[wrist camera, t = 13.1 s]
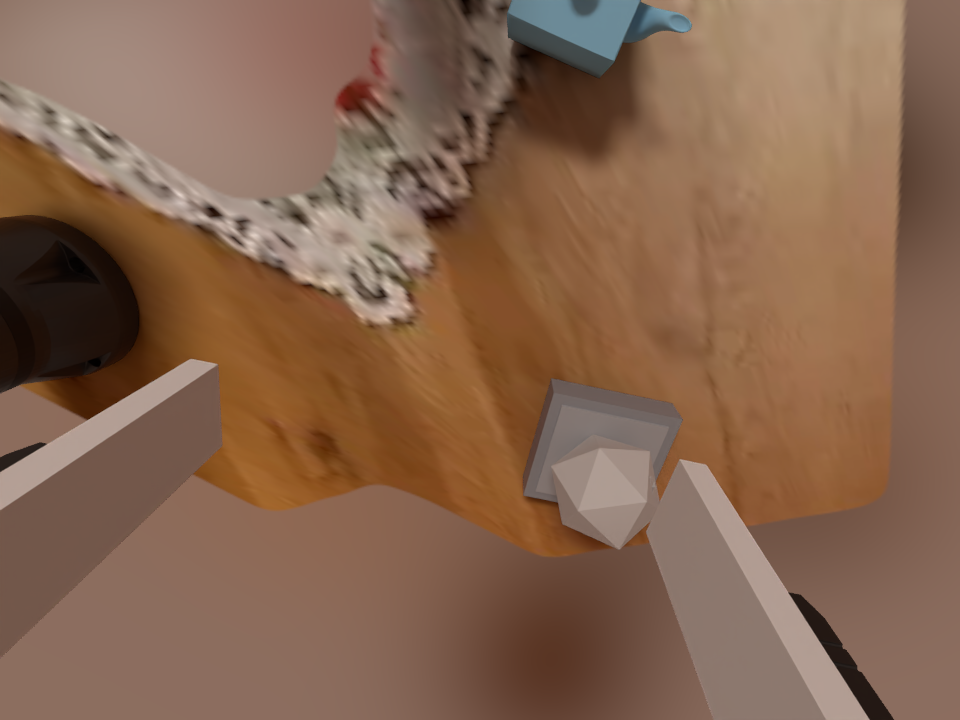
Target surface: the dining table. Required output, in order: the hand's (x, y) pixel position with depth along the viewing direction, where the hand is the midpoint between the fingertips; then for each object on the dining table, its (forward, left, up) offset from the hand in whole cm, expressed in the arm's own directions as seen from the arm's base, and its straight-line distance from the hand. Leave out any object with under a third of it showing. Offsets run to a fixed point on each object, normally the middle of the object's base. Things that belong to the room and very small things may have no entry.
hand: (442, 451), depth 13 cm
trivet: (+14, -16, -29) cm, 36 cm away
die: (+14, -16, -26) cm, 33 cm away
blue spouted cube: (+3, +18, -29) cm, 34 cm away
